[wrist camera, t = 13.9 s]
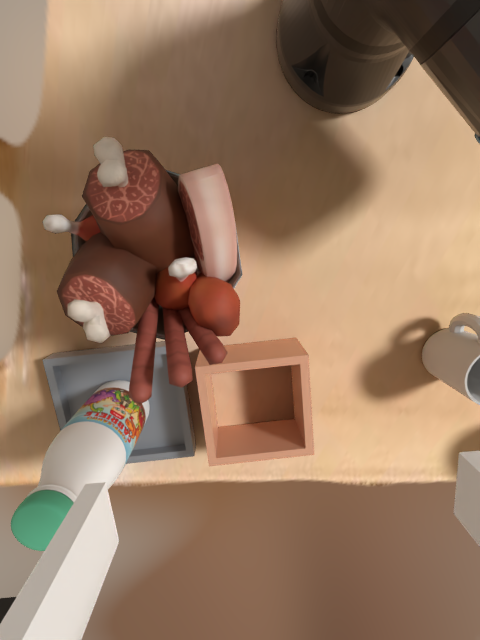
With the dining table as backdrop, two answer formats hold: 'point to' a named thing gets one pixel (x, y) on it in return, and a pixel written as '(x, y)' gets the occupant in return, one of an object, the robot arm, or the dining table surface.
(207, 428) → the deep holder
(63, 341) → the dining table surface
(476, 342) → the cup
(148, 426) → the tray
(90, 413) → the milk bottle
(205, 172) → the bucket of meat
